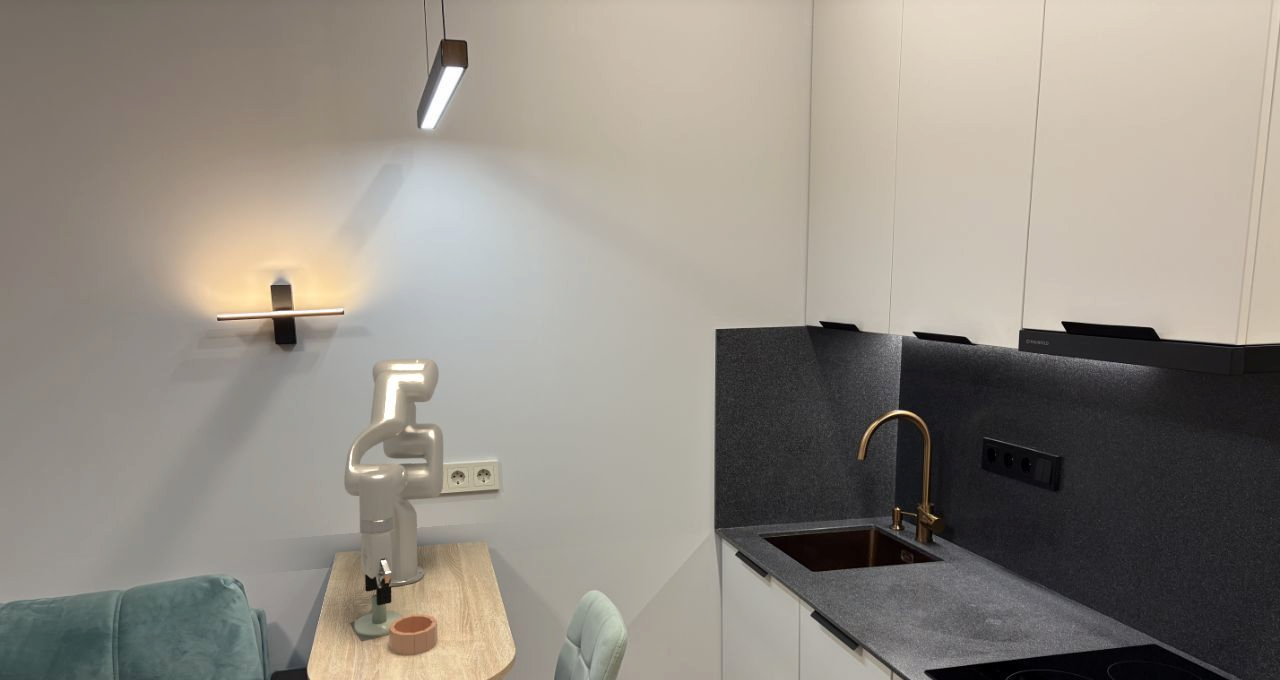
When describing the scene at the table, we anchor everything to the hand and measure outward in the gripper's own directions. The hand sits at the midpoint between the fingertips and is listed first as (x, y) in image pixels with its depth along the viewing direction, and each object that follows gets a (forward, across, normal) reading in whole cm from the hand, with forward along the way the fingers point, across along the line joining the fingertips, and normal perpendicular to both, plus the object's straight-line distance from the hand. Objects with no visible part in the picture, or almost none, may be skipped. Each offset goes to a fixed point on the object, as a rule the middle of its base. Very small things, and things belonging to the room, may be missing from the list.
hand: (378, 596), depth 180 cm
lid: (+7, -1, 0) cm, 7 cm away
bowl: (+8, +12, +4) cm, 15 cm away
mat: (+8, -1, 0) cm, 8 cm away
